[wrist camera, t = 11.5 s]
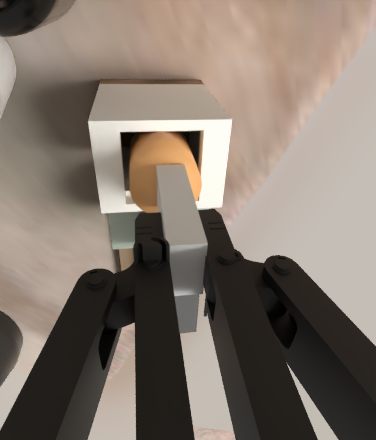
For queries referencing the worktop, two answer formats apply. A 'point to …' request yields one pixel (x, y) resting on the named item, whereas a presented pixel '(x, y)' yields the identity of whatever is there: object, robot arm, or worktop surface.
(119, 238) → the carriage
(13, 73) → the cup
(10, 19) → the supplement bottle
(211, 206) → the cabinet
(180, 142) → the button
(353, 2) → the worktop surface
